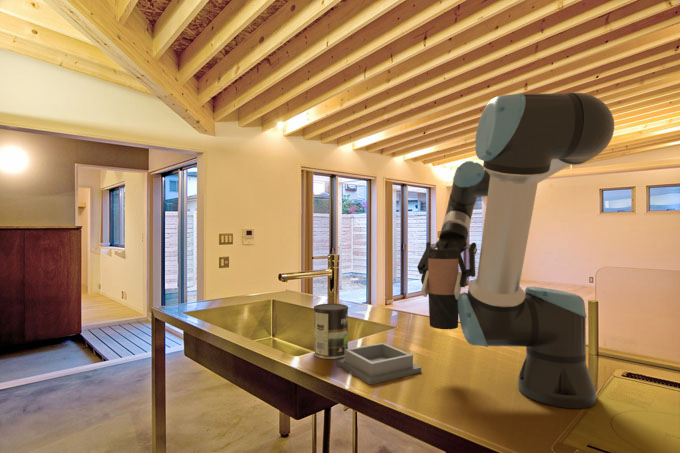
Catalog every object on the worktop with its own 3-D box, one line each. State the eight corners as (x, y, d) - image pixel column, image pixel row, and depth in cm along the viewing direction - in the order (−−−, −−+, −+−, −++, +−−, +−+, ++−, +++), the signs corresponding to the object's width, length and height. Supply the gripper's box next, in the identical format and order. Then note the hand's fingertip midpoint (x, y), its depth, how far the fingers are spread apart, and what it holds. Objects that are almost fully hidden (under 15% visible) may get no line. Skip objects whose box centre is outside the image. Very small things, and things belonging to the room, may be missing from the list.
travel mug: (454, 331, 93) (453, 249, 93) (424, 327, 97) (423, 248, 98) (462, 324, 99) (462, 248, 100) (434, 321, 104) (433, 247, 104)
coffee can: (350, 349, 118) (350, 303, 118) (344, 360, 107) (344, 310, 108) (318, 347, 120) (318, 302, 120) (309, 358, 109) (309, 309, 110)
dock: (421, 372, 98) (421, 355, 98) (370, 384, 90) (370, 366, 90) (384, 354, 112) (384, 340, 112) (337, 364, 104) (337, 349, 104)
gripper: (494, 239, 107) (484, 307, 93) (423, 239, 117) (405, 300, 103) (490, 220, 102) (480, 288, 88) (417, 221, 113) (397, 282, 98)
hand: (439, 294), depth 96 cm, fingers closed on travel mug, 7 cm apart
